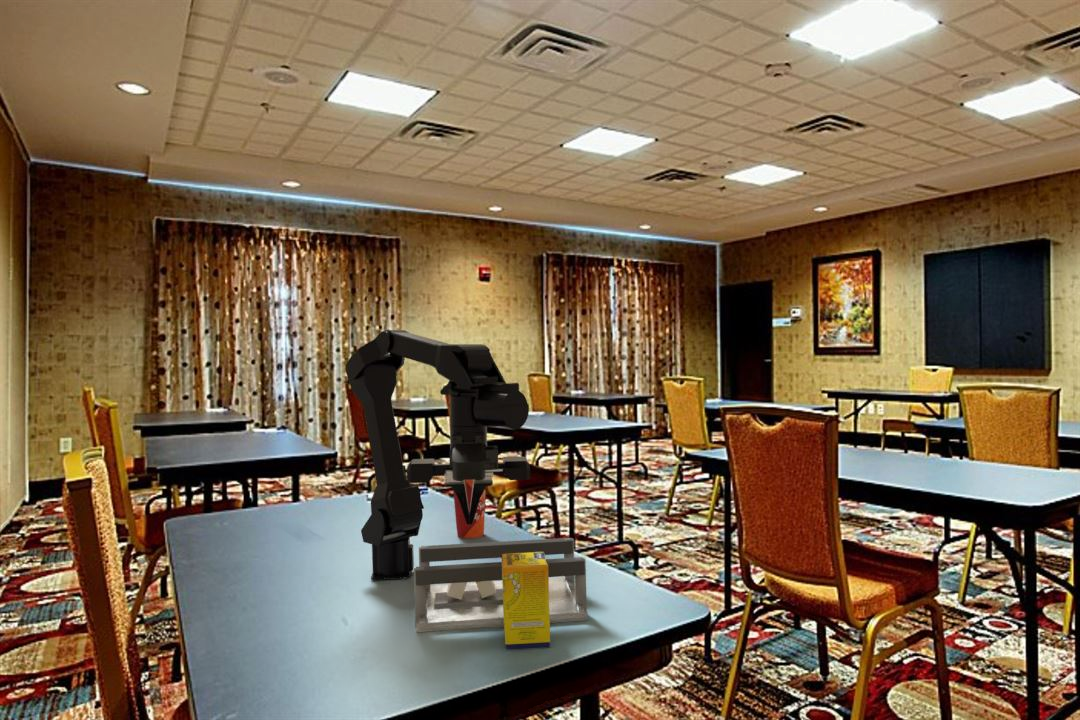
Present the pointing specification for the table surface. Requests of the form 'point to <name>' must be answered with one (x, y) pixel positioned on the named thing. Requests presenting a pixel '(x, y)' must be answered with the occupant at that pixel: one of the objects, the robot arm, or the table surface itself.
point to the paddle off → (486, 588)
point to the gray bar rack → (493, 565)
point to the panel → (491, 607)
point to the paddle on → (456, 590)
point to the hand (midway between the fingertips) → (469, 524)
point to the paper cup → (478, 522)
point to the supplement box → (525, 601)
